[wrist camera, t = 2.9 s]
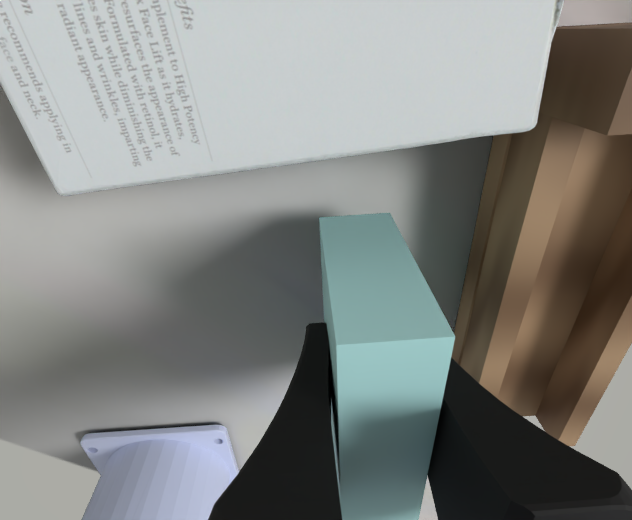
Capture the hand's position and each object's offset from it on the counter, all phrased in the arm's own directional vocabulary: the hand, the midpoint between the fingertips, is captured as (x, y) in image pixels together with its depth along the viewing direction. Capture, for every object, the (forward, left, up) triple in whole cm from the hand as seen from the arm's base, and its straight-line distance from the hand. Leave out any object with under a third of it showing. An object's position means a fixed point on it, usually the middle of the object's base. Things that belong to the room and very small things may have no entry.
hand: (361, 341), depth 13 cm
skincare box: (+9, +8, -1) cm, 13 cm away
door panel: (0, 0, -2) cm, 2 cm away
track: (0, -8, -4) cm, 9 cm away
